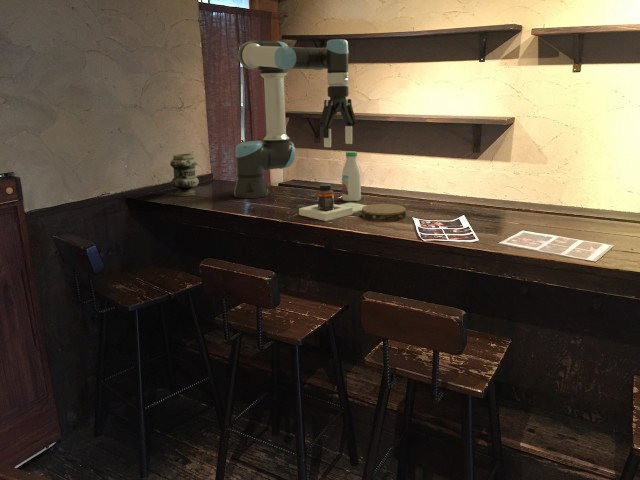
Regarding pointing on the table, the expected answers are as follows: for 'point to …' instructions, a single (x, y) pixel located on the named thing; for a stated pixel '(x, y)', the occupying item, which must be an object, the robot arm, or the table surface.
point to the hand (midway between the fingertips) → (338, 145)
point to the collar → (328, 215)
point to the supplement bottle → (325, 198)
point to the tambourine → (383, 212)
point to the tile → (354, 206)
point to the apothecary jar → (184, 173)
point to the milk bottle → (351, 178)
